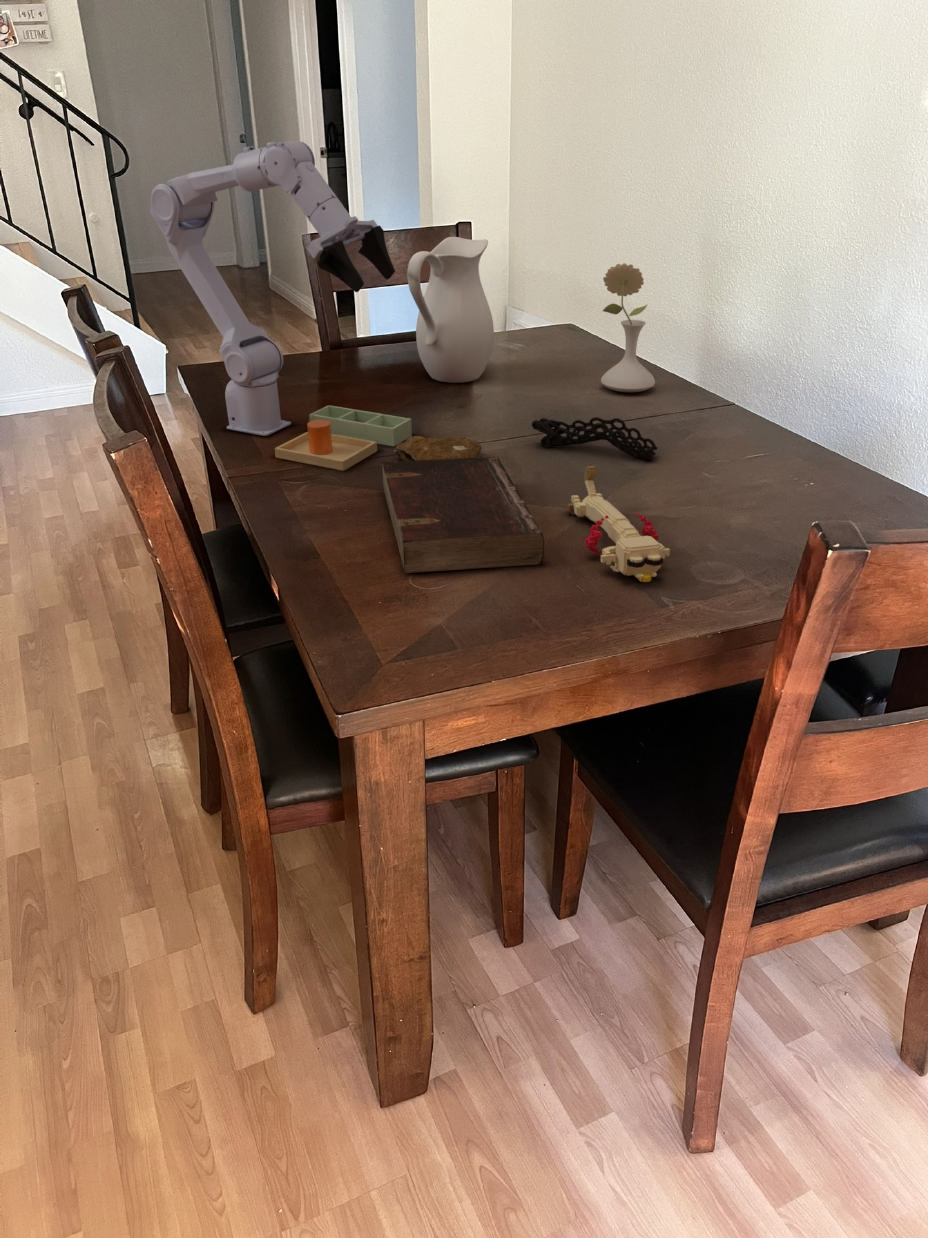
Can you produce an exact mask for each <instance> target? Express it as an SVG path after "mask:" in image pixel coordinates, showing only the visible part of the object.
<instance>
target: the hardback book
mask: <svg viewBox="0 0 928 1238" xmlns="http://www.w3.org/2000/svg"><path fill="white" fill-rule="evenodd" d="M381 467H382V468H381V469H382V482H383V483H382V485H383V492H384V496H385V500H386V504H387V508H388V513H389V515H390V516H389V517H390V520H391V524H392V528H393V532H394V535H395V539H396V543H397V548H398V551H399V556H400V559H401V564H402V567H403V572H404V574H411V573H425V572H441V571H444V572H445V571H459V570H474V569H475V570H476V569H489V568H504V567H506V568H507V567H520V566H533V565H542V563H543V559H544V554H545V539H544V534H543V531H542V530H541V529H540V527H539V524H538V523H537V521H536V519H535V518H534V516H533V514H532V513H531V511H530V509H529V508H528V506H527V504H526V503H525V501H524V499H523V498H522V496H521V494H520V492H519V490H518V489H517V488H516V485H515V484H514V482H513V481H512V478H511V477H510V475H509V473H508V472H507V469H506V468H505V466H504V465H503V463H502V462H501V460H500V458H499V456H484V457H482V456H481V458H458V459H436V460H410V461H403V460H393V461H381Z"/></svg>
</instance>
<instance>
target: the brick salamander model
mask: <svg viewBox="0 0 928 1238" xmlns="http://www.w3.org/2000/svg"><path fill="white" fill-rule="evenodd" d="M596 476H597V469H596V466H595V465H587V467H586V468H585V471H584V476H583V477H584V484H585V489H586V491H587V494H588V495H586V497H584V498H583V499H582V501H581V499H580V496H579V495H576V494H575V495H571V496H570V497H571V498H570V499H571V501H570V503H567V505H566V510H567V511H568V512H570V514H571V515H573V516H574V515H576V516H577V517H578V518H582V517H583V518H584V517H586V518H587V519H589V521H591V522H593V523H595V524H592V526H591V527H589V535H587V537H586V538H585V539H584V540H585V541H584V545H585V546H586V547H587V549H588V551H589V552H592V553H594V555H596V556H599V557H600V563H601V564H605V565H606V566H607V565H608V566H609V565H610V566H609V568H610V569H611V570H612V571H613V572H616V573H622V574H623V575H624V576H627V577H630V576H634V577H635V578H636V579H637V580H638V581H639V582H642V583H648V582H651V581H652V578H655V577H658V573H657V572H658V571H659V570H660V569H661V567H662V564H663V563H664V559H666V558H667V557H670V555H671V549H670V548H669V547H667V548H666V547H665V546H664V545H663V544H662V543H661V542H659V537H660V536H659V534H657V530H656V529H654V528H653V525H652V524H653V523H652V521H651V520H650V519H647V516H646V515H643V514H639V513H638V512H634V516H635V517H638V518H640V522H644V526H642V527H641V534H643V535H641V534H640V533H639V530H638V529H637V528H636V527H635V526H634V525H632V524H631V521H630V520H629V518H627V517H626V516H625V515H624V514H623V513H622V512H620V510H618V509H617V508H616V507H615V506H614V505H613V504H611V503H610V502H609V501H608V500H606V499H604V497H603V494H602V493H600V492H599V493H597V490H596V485H595V481H594V479H595V478H596ZM599 527H601V528H602V529H603V530H604V532H606V533H607V536H608V538H610V539H611V540H612V542H614V543H615V545H612V546H611V545H610V546H607V547H603V548H602V549H601V553H599V548H598V547H597V546H598V541H599V540H600V539H602V538H603V534H602V530H598V529H599ZM612 563H614V565H612Z"/></svg>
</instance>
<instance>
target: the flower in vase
mask: <svg viewBox="0 0 928 1238" xmlns="http://www.w3.org/2000/svg"><path fill="white" fill-rule="evenodd" d="M602 280H603V282H604V286H605V287H606V290H607V291H608V292H609V293H611V294H612V295H614V294H616V295H617V296H618V297H621V298H620V299H621V301H620V302H621V303H620V304H621V305H619V304H617V303H610V304H608V305H606V306H605V307H604V309H602V312H605V313H609V314H612V315H619V314H620V313H621V312H622V311H623V313H624V314H625V316H626V318H627V319H625V320H621V321H620V324H621V325H622V328H623V330H624V336H625V349H624V355H623V357H622V358H621V360H620V361H619V362H618V363H617V364H615V365H613V366H612V367H611V368H609V369H607V371H606V372H605V373H604V374H603V375H602V376H601V379H600V383H601V384H602V386H604V387H605V388H606V389H609V390H612V391H616V392H620V393H640V392H644V391H648V390H650V389H652V388H653V387H654V386H655V384H656V381H655V378H654V376H653V374H652V373H651V372H650V370H648V369H647V368H646V367H645V366H644V365H642V364H641V362H639V360H638V357H637V347H638V341H639V336H640V333H641V331H642V329H643V327H644V326H645V325H646V322H645V321H644V320H641V319H640V320H639V319H631V318H630V317H632V316H633V317H634V316H637V315H639V314H641V313H642V312H643V311H645V310H646V308H647V307H648V304H646V305H642V306H640V307H636V308H634V309H633V310H632V311H631V312H630V313H629V314H628V312H627V310H626V308H625V307H624V297H627V296H632V295H633V294H638V293H639V292H640V289H642V287H643V286H644V284H645V282H644V278H643V273H642V272H641V269H640V268H638V267H637V268H636V267H634V265H633V264H627V263H626V262H624V263H622V264H620V263H617V264H616V265H615V266H611V267H610V268H608V269H607V271H606V273H605V276H603V277H602Z"/></svg>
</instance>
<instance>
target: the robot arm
mask: <svg viewBox="0 0 928 1238" xmlns="http://www.w3.org/2000/svg"><path fill="white" fill-rule="evenodd" d="M166 183H167V184H165V183H159V184H157V185H155V186H154V187H153V188H152V191H151V193H150V208H149V213H150V215H151V217H152V218H153V220H154V222H155V223H156V225H157V226H158V228H159V230H160V231H161V233H162V235H163V236H164V238H165V242H166V245H167V248H168V250H169V252H170V254H171V255H172V257H173V259H174V260H175V262H176V264H177V265H178V266H179V268H180V270H181V272H182V273H183V276H185V278H186V279H187V281H188V283H189V285H190V286H191V288H192V290H193V291H194V292H195V294H196V296H197V297H198V299H199V301H200V302H201V304H202V306H203V307H204V309H205V310H206V312H207V314H208V315H209V317H210V319H211V320H212V322H213V323H214V325H215V327H216V328H217V330H218V331H219V333H220V335H221V337H222V338H223V339H222V342H221V344H220V347H219V350H218V354H219V355H220V357H221V359H222V360H223V363H224V367H225V371H226V373H227V375H228V377H229V378H230V381H229V382H228V383H227V384H226V387H225V390H224V391H225V392H224V398H225V405H226V413H227V420H228V425H227V426H226V430H230V431H236V432H241V433H246V434H251V435H257V436H263V437H268V436H270V435H273V434H274V433H276V432H279V431H281V430H283V429H285V428H286V427H289V426H291V425H292V421H289V420H283V419H282V417H281V416H282V415H281V409H280V399H279V390H278V382H277V381H278V380H277V379H278V378H279V377H280V376H279V372H280V371H281V370H282V369H283V366H284V354H283V351H282V349H281V348H280V346H279V344H277V343H276V341H274V340H273V339H271V338H270V336H269V335H268V333H267V331H266V330H264V329H263V328H261V327H260V326H256V325H254V324H252V323H251V322H250V321H249V319H248V318H247V316H246V314H245V313H244V311H243V309H242V308H241V306H240V305H239V303H238V302H237V299H236V298H235V297H234V295H233V293H232V292H231V290H230V288H229V287H228V285H227V283H226V281H225V280H224V279H223V277H222V275H221V273H220V272H219V269H218V268H217V267H216V265H215V263H214V262H213V261H212V259H211V257H210V255H209V253H208V252H207V251H206V249H205V247H204V245H203V240H204V238H205V237H206V235H207V233H208V229H209V226H210V224H211V220H212V218H213V214H214V211H215V206H216V205H215V202H217V201H218V199H219V198H218V194H217V192H220V191H223V190H224V191H225V190H227V189H231V188H234V187H238V186H239V187H240V188H241V189H243V190H244V191H247V192H250V193H251V192H256V191H260V190H264V189H269V188H273V187H278V186H280V187H282V188H283V189H284V191H285V192H286V193H288V194H289V195H290V197H291V198H292V199H293V201H294V203H296V205H297V206H298V208H299V209H300V210H301V212H302V213H303V214H304V216H305V217H306V218H307V220H308V222H309V223H310V224H311V225H312V227H313V228H314V230H315V231H316V232H317V234H318V235H319V237H318V238H316V239H313V240H311V242H310V243H309V244H308V246H307V248H306V250H307V251H308V252H309V254H310V256H311V257H312V258H313V260H315V259H316V260H317V259H318V258H319V259H318V260H317V262H316V265H317V266H318V268H319V269H320V270H322V271H325V272H327V273H329V274H331V275H332V276H334V277H335V278H337V279H338V280H340V281H341V282H343V283H344V284H345V285H346V286H347V287H349V288H350V289H351V290H352V291H353V292H354V293H358V292H360V291H361V289H362V288H363V286H364V285H365V283H364V280H363V278H362V275H360V273H359V271H358V270H357V268H356V267H355V266H354V264H353V262H352V259H350V257H349V254H348V252H347V250H346V246H348V245H351V244H354V243H356V242H359V241H361V247H360V248H359V249H358V251H357V252H358V254H360V255H361V256H363V257H364V258H365V259H367V260H368V261H369V262H370V263H371V264H372V265H373V266H374V267H375V269H376V270H377V272H378V273H379V274H380V275H381V276H382V277H383V278H384V279H385V280H387V281H388V280H390V279H391V278H392V276H394V274H395V273H396V270H395V267H394V265H393V262H392V260H391V257H390V255H389V252H388V248H387V245H386V244H387V243H386V239H385V231H384V228H383V227H382V226H381V225H378V224H377V222H376V221H375V220H374V219H371V220H359V219H358V218H357V216H352V215H350V213H349V212H348V210H347V209H346V208H345V207H344V205H343V203H342V202H341V201H340V199H339V198H338V196H337V195H336V193H335V192H334V191H333V190H332V188H331V187H330V186H329V184H328V182H327V181H326V180H325V179H324V177H323V176H322V174H321V173H320V171H319V170H318V169H317V168H316V159H315V155H314V152H313V150H312V148H311V147H310V146H309V145H308V144H307V143H305V142H303V141H298V140H292V141H279V142H276V141H269V142H267V143H266V146H264V147H259V148H255V146H252V145H251V146H246V147H243V148H242V152H240V153H238V154H237V155H236V156H235V157H234V160H233V163H232V164H229V165H223V166H218V167H214V168H209V169H203V170H199V171H193V172H189V173H185V174H183V175H180V176H177V177H174V178H170V179H169V180H167V181H166Z"/></svg>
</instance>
